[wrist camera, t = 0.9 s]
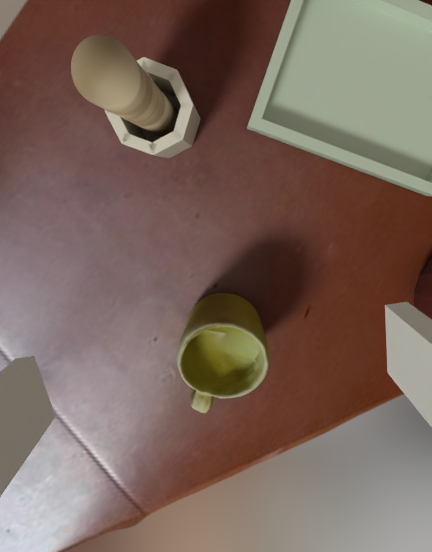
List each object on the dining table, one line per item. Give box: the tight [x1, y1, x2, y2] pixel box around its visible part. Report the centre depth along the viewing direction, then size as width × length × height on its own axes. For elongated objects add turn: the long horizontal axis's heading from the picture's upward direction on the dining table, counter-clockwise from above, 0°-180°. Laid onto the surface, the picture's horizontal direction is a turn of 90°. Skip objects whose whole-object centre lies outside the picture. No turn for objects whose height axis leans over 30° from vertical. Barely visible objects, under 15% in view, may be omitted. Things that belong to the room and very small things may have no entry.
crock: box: [105, 57, 200, 158], centre depth 32 cm, size 7×7×8 cm
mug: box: [177, 293, 269, 413], centre depth 39 cm, size 12×10×10 cm
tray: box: [247, 0, 432, 196], centre depth 33 cm, size 20×14×2 cm
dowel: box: [71, 35, 179, 137], centre depth 26 cm, size 3×3×18 cm
